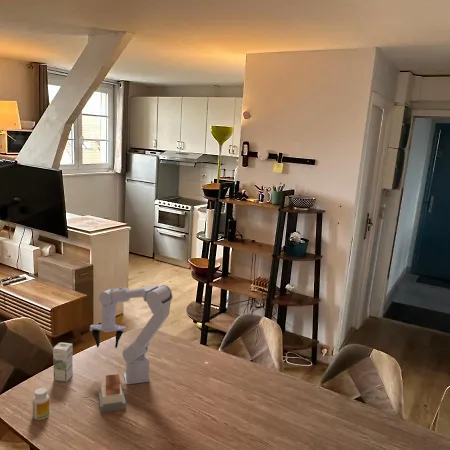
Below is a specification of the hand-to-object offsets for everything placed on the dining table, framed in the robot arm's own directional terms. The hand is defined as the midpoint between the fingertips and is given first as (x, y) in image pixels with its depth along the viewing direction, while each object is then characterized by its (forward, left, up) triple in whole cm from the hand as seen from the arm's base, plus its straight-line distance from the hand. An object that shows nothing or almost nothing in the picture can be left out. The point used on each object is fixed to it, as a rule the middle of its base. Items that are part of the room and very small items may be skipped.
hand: (107, 346), depth 180 cm
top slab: (0, +25, -8) cm, 27 cm away
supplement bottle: (+25, +26, -11) cm, 38 cm away
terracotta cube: (0, +25, -5) cm, 26 cm away
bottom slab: (0, +25, -11) cm, 28 cm away
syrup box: (+18, +3, -11) cm, 21 cm away
